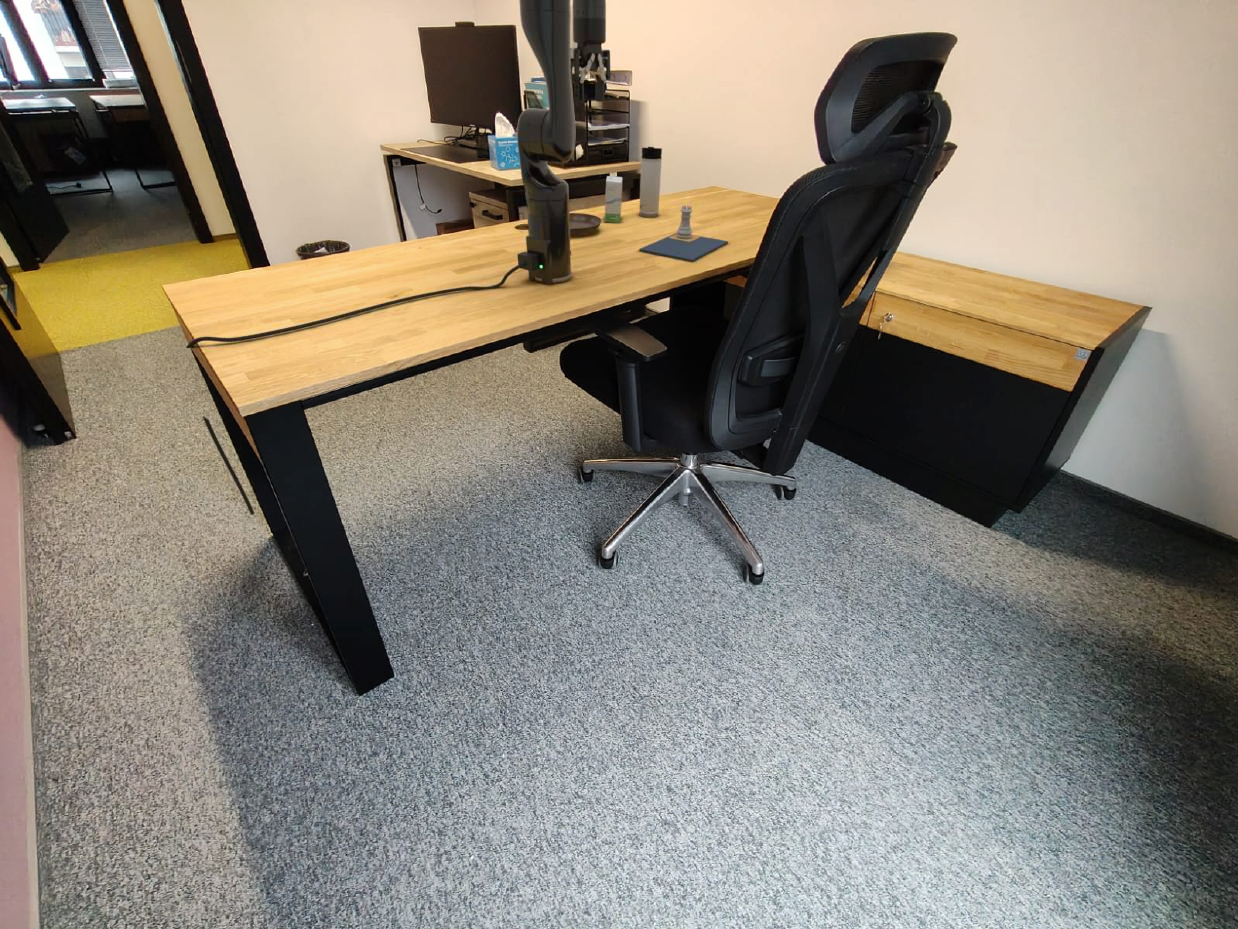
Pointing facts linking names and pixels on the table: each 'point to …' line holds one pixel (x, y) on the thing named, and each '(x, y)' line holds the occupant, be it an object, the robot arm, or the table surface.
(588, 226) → the plant saucer
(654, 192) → the travel mug
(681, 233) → the rook chess piece
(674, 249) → the desk mat
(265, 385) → the table surface
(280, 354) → the table surface
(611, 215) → the ink box
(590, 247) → the table surface
